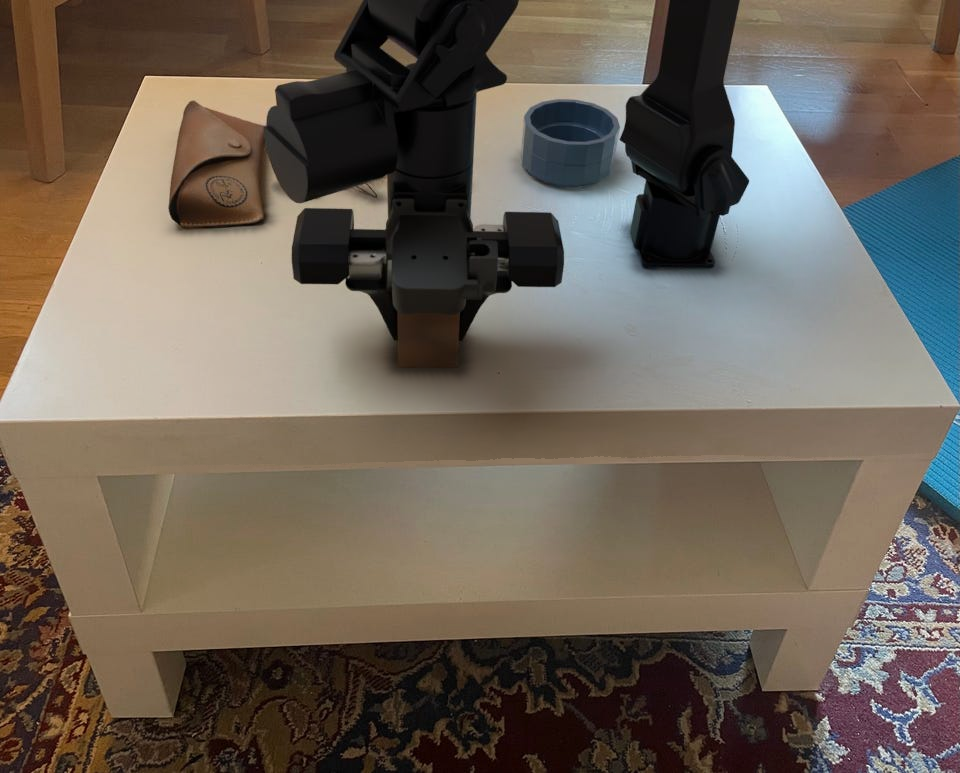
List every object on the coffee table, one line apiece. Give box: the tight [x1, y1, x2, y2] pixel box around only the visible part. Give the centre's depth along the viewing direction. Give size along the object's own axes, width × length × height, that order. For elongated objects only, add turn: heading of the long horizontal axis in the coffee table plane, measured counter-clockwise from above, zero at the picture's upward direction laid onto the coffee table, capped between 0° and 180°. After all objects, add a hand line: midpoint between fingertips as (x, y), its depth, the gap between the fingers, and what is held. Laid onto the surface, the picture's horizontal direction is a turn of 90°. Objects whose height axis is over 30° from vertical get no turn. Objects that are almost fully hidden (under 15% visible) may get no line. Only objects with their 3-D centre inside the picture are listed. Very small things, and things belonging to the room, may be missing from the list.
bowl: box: [520, 98, 621, 189], centre depth 92 cm, size 9×9×5 cm
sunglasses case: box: [167, 100, 265, 229], centre depth 88 cm, size 18×7×7 cm
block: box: [397, 312, 460, 368], centre depth 70 cm, size 4×4×6 cm
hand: (427, 337), depth 72 cm, fingers closed on block, 4 cm apart
